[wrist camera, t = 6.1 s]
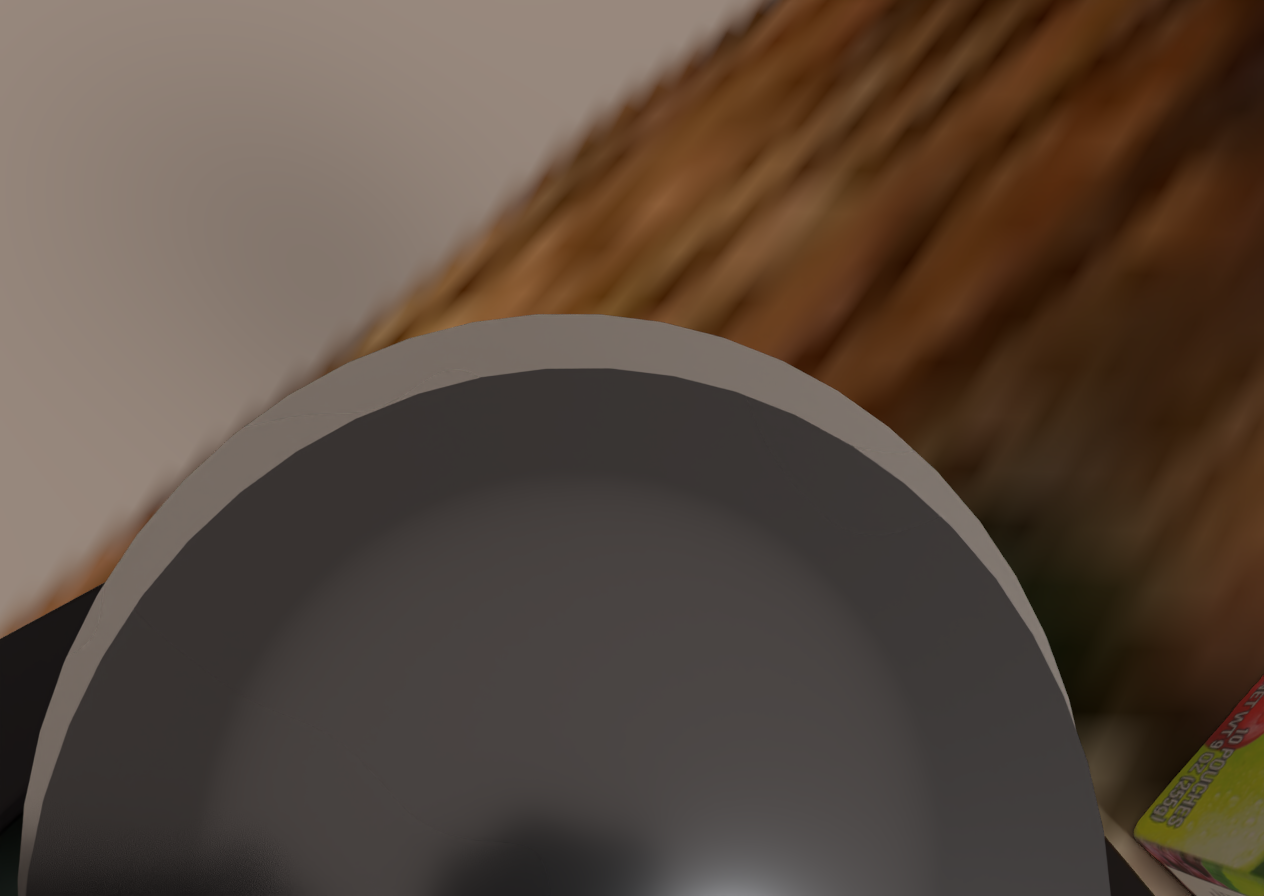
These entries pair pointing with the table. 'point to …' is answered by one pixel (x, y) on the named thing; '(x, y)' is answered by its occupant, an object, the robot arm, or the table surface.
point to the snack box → (1216, 810)
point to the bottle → (562, 649)
